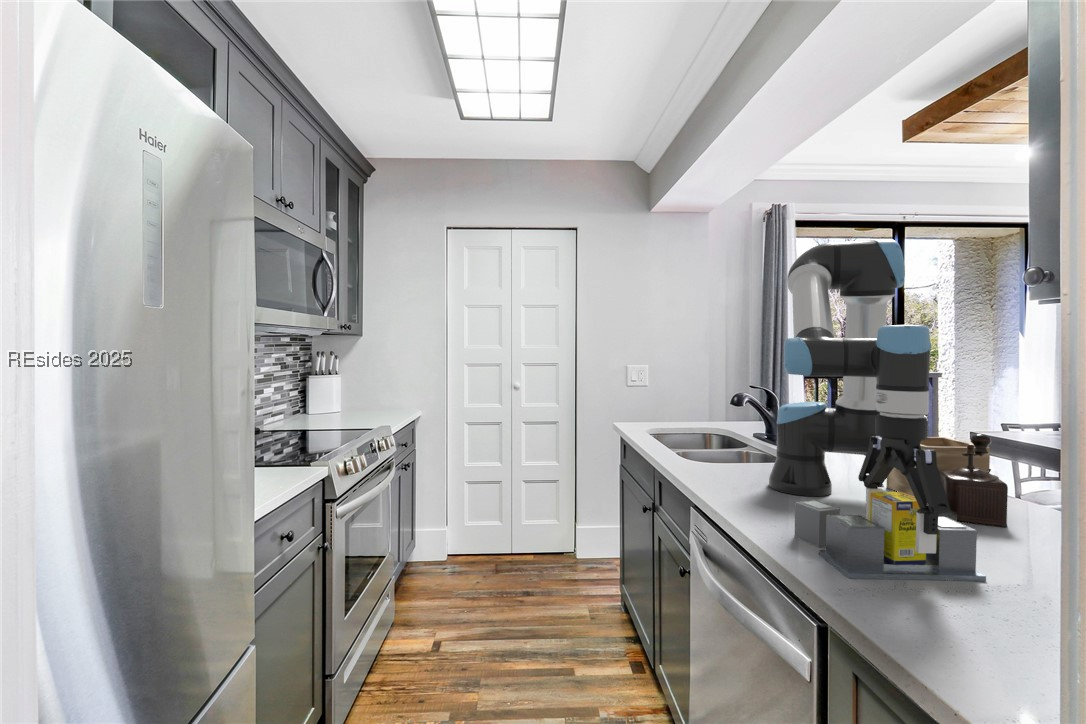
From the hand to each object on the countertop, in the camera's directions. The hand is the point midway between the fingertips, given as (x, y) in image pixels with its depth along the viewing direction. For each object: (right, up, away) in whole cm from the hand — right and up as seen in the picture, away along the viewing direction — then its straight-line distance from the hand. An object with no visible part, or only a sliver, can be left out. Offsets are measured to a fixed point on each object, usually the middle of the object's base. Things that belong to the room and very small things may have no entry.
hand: (898, 537), depth 90 cm
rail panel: (0, -5, 0) cm, 5 cm away
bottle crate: (+39, -4, +44) cm, 59 cm away
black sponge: (+19, -5, +19) cm, 27 cm away
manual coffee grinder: (+36, -5, +29) cm, 46 cm away
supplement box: (0, -4, 0) cm, 4 cm away
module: (-8, -5, +12) cm, 15 cm away
